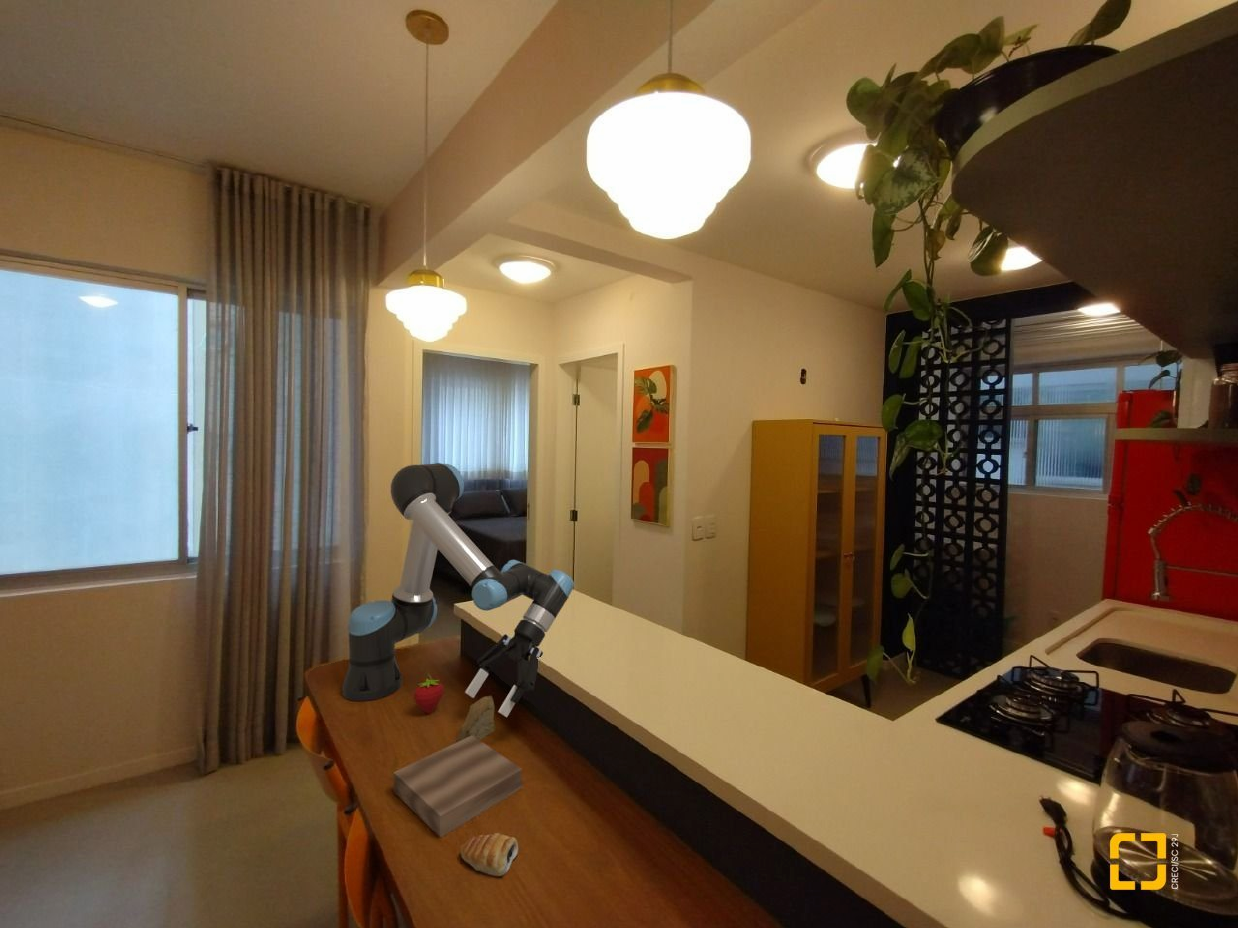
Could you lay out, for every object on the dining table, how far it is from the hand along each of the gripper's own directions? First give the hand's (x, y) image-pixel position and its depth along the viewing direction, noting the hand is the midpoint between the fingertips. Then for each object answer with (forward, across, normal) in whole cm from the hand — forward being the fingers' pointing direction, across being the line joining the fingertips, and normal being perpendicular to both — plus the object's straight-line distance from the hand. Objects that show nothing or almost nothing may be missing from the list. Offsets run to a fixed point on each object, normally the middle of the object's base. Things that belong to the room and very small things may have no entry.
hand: (485, 704), depth 125 cm
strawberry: (+8, +19, -2) cm, 21 cm away
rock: (+7, +1, -4) cm, 8 cm away
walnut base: (+16, -13, +6) cm, 21 cm away
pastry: (+20, -32, +10) cm, 40 cm away
